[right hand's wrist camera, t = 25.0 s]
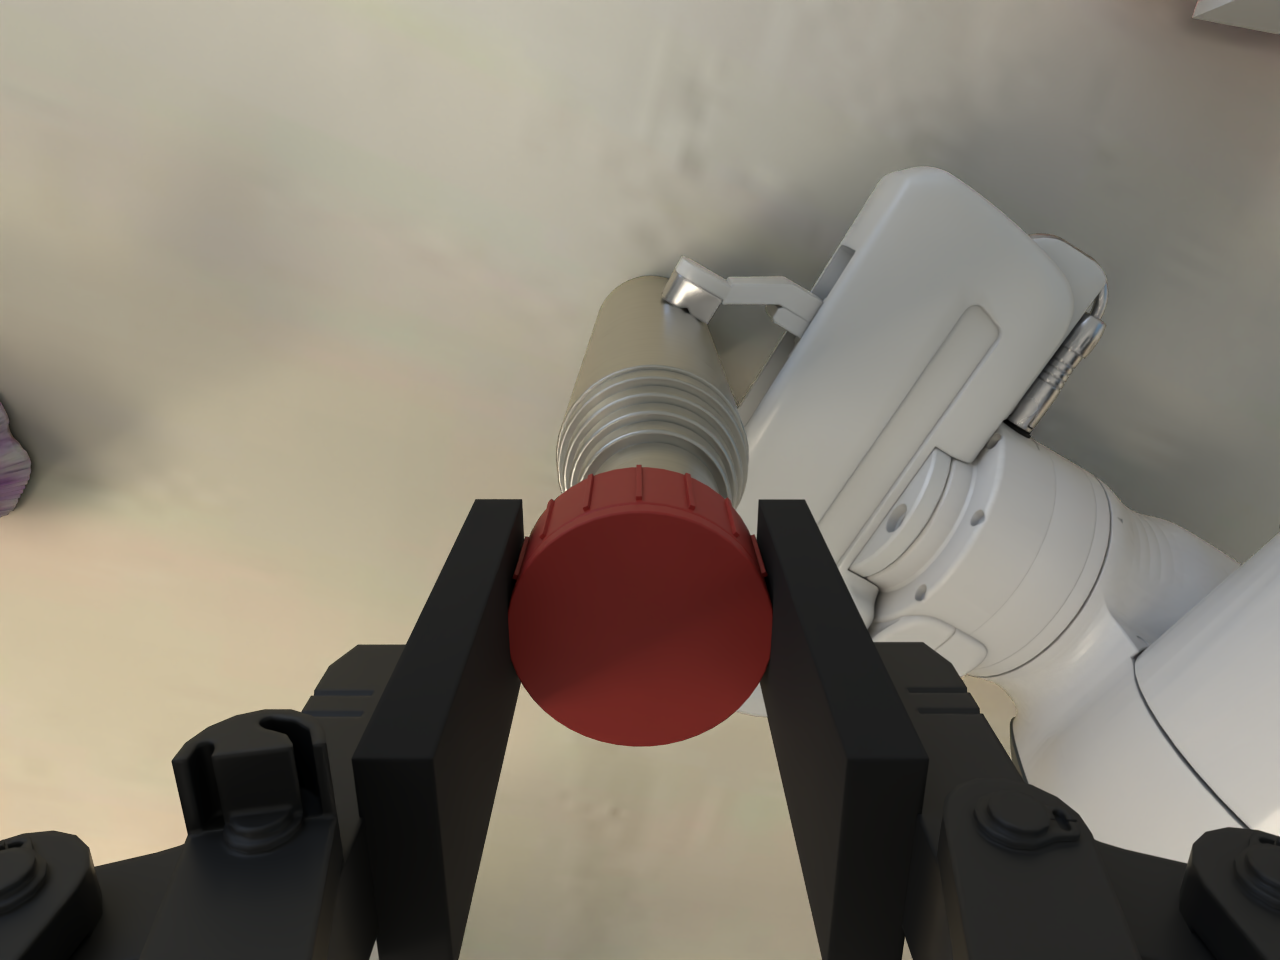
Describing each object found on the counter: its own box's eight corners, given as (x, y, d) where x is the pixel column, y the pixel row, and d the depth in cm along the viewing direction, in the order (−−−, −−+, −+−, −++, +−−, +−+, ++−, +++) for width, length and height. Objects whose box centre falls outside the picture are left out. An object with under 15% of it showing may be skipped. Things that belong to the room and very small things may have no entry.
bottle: (719, 291, 36) (820, 477, 15) (688, 397, 37) (741, 701, 16) (610, 263, 35) (555, 410, 14) (584, 370, 37) (499, 646, 16)
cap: (539, 443, 14) (524, 487, 12) (785, 487, 14) (806, 535, 12) (505, 659, 15) (487, 727, 13) (730, 695, 15) (742, 767, 14)
